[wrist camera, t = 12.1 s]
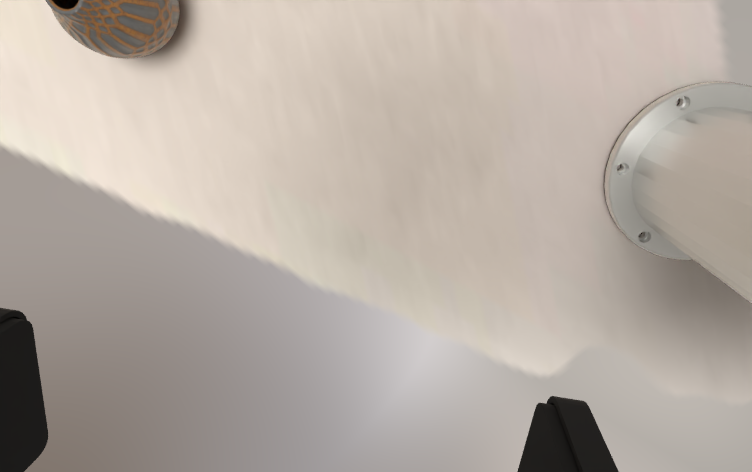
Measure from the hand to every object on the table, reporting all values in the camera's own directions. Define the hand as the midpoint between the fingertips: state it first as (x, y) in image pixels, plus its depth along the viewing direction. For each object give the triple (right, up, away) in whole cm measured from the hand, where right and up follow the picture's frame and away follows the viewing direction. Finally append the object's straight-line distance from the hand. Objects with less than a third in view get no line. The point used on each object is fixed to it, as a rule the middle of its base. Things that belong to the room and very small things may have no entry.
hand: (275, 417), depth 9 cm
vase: (-14, +20, +26) cm, 36 cm away
